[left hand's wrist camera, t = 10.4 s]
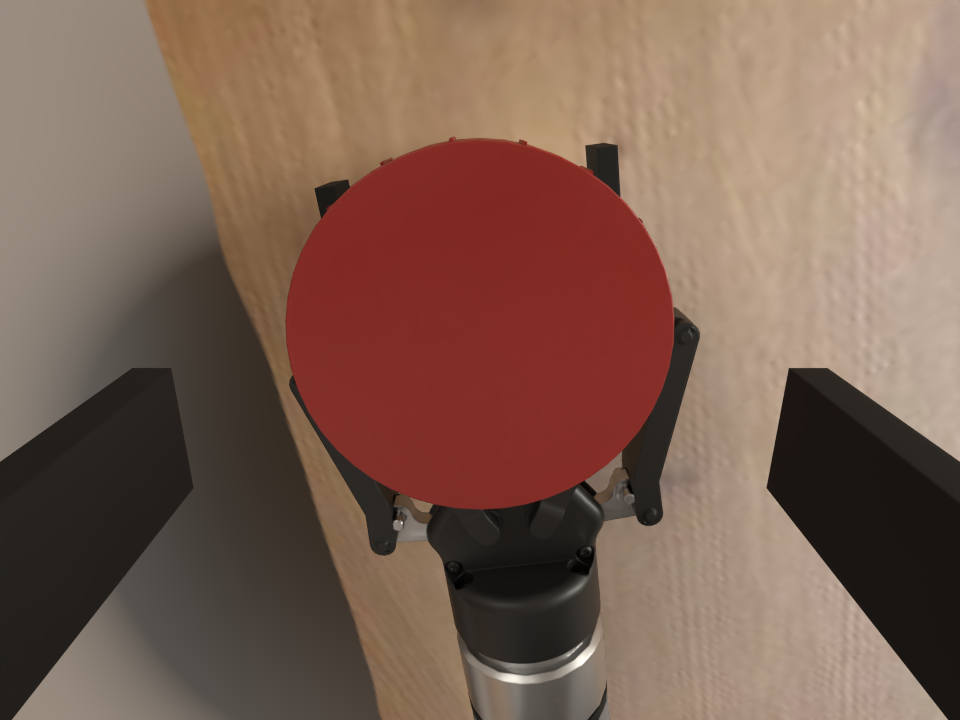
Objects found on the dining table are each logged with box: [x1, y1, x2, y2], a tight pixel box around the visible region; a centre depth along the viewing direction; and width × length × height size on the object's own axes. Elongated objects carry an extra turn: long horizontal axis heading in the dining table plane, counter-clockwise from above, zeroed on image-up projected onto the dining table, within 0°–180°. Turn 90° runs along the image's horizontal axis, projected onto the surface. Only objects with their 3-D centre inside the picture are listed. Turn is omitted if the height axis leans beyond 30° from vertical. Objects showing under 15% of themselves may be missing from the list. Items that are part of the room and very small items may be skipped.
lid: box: [286, 137, 674, 510], centre depth 19 cm, size 11×11×2 cm
